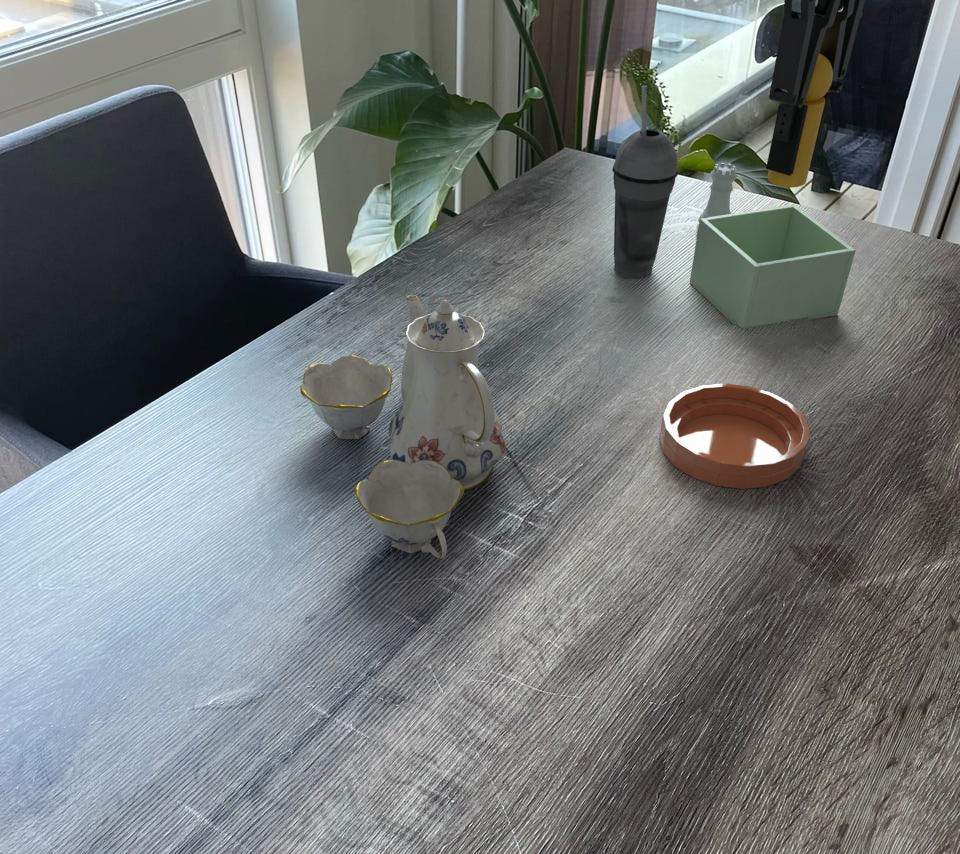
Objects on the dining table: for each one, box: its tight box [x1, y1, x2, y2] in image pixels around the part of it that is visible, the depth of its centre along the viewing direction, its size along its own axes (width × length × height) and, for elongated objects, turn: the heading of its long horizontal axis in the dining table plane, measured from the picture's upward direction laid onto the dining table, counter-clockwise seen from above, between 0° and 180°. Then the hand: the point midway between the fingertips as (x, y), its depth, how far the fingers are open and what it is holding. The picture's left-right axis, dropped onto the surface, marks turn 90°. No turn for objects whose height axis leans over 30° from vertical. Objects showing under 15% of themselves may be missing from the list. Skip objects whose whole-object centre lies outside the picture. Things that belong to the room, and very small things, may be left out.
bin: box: [689, 204, 856, 329], centre depth 115 cm, size 12×12×8 cm
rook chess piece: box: [696, 162, 738, 231], centre depth 127 cm, size 4×4×8 cm
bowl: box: [659, 383, 811, 490], centre depth 96 cm, size 13×13×3 cm
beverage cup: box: [612, 84, 679, 279], centre depth 115 cm, size 7×7×20 cm
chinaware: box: [299, 294, 507, 560], centre depth 89 cm, size 28×17×17 cm, turn 27°
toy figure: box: [767, 54, 833, 188], centre depth 104 cm, size 4×4×12 cm
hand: (790, 163), depth 107 cm, fingers closed on toy figure, 4 cm apart
